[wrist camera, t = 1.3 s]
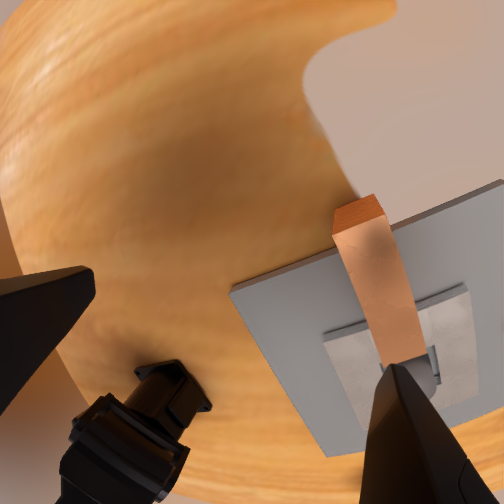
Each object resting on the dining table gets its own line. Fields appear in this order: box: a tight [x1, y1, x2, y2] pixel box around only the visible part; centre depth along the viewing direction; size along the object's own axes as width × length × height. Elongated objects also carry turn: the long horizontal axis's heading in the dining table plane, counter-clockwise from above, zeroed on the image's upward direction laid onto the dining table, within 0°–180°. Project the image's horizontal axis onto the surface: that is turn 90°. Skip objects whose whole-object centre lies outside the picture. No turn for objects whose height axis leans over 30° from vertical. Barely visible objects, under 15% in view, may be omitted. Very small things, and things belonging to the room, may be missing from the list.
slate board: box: [228, 179, 504, 457], centre depth 18 cm, size 20×20×4 cm
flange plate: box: [323, 194, 479, 431], centre depth 16 cm, size 18×10×5 cm, turn 29°
